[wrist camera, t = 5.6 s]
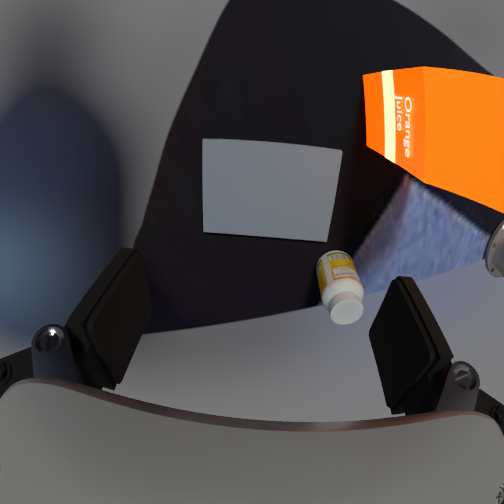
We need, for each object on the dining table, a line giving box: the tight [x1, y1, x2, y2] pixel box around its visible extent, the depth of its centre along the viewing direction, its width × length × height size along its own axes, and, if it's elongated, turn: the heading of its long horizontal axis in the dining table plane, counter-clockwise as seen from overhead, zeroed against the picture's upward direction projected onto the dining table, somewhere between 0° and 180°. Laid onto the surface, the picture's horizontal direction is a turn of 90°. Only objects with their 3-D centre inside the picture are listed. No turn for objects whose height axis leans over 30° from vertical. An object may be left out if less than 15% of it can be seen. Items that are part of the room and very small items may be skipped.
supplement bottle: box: [316, 250, 364, 325], centre depth 34 cm, size 5×5×10 cm
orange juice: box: [363, 67, 504, 213], centre depth 18 cm, size 8×9×20 cm
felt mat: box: [203, 139, 342, 242], centre depth 33 cm, size 16×12×1 cm
